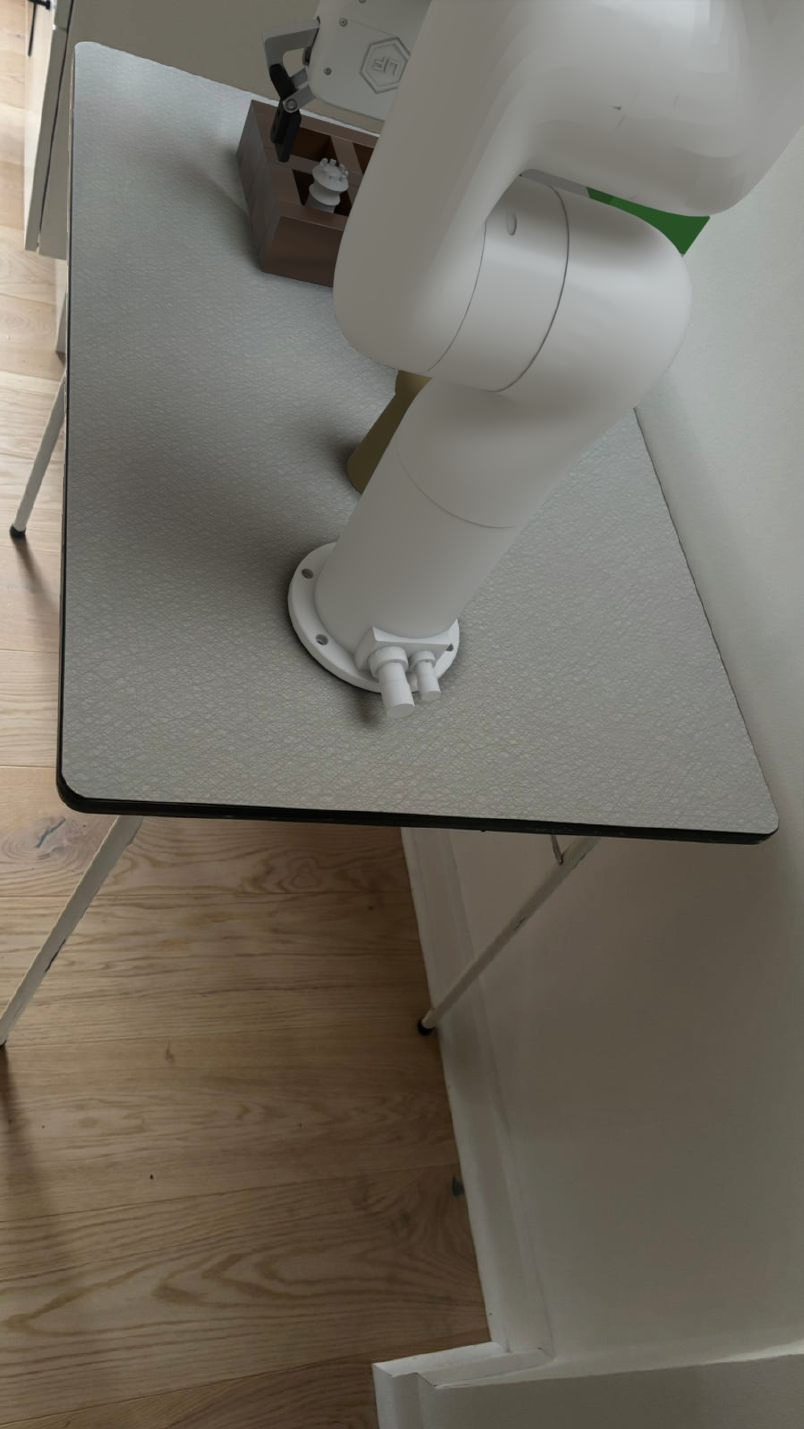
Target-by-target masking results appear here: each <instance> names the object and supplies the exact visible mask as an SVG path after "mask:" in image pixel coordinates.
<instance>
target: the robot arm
mask: <svg viewBox="0 0 804 1429" xmlns="http://www.w3.org/2000/svg"><path fill="white" fill-rule="evenodd" d="M261 41H262V46H263V53H264V58H265V63H266V69H267V72H268V75H269V79H270V82H271V83H272V85H273V87H274V90H275V91H276V93H277V95H278V97H279V101H278V105H277V111H276V114H275V117H274V121H273V124H272V127H271V132H270V139H271V142H272V143H274V146H275V149H276V153H277V157H278V160H279V161H280V162H283V163H286V161H287V162H288V161H289V158H290V155H291V152H292V148H293V145H294V142H295V139H296V136H297V133H298V130H299V127H300V124H301V120H302V117H301V114H302V113H301V111H300V110H301V108H303V107H305V106H306V105H308V104H309V103H311V102H312V101H314V100H315V99H317V100H318V101H320V102H321V103H324V104H325V105H326V106H327V105H328V106H331V107H334V108H336V109H339V110H343V111H345V112H349V113H352V114H355V115H358V116H361V117H363V118H364V117H365V118H368V119H371V120H374V121H377V122H380V123H383V125H382V128H381V131H380V133H379V136H378V137H379V138H378V141H377V143H376V146H375V148H374V151H373V154H372V156H371V159H370V161H369V164H368V166H367V169H366V172H365V174H364V177H363V179H362V182H361V185H360V187H359V190H358V193H357V195H356V198H355V201H354V204H353V206H352V209H351V212H350V215H349V217H348V220H347V223H346V227H345V230H344V233H343V237H342V240H341V243H340V248H339V253H338V257H337V262H336V267H335V273H334V284H333V287H332V296H333V298H332V299H333V309H334V314H335V318H336V319H335V320H336V322H337V326H338V328H339V329H340V331H341V334H342V335H343V337H344V339H345V340H346V341H347V342H348V343H349V344H350V346H351V347H352V348H353V349H354V350H355V351H357V352H358V353H359V354H361V356H363V357H364V358H366V359H369V360H371V361H372V362H375V363H378V364H380V365H383V366H386V367H390V368H392V369H395V370H398V371H399V370H402V371H406V372H410V373H414V374H418V375H423V376H427V377H431V378H432V379H431V380H430V381H429V382H428V383H427V384H426V385H425V386H424V387H423V388H422V390H421V391H420V392H419V393H418V395H417V396H416V397H415V399H414V400H413V402H412V403H411V405H410V407H409V408H408V410H407V412H406V413H405V415H404V417H403V419H402V421H401V423H400V425H399V427H398V428H397V430H396V432H395V434H394V435H393V437H392V439H391V441H390V443H389V445H388V447H387V449H386V450H385V452H384V454H383V456H382V458H381V460H380V462H379V464H378V466H377V468H376V469H375V471H374V473H373V475H372V477H371V479H370V481H369V483H368V485H367V486H366V488H365V490H364V492H363V494H361V496H360V497H359V500H358V501H357V504H356V506H355V507H354V508H353V511H352V513H351V515H350V516H349V519H348V520H347V522H346V525H345V526H344V528H343V530H342V531H341V534H340V536H339V537H338V540H337V541H333V542H329V543H327V544H322V545H321V546H319V547H317V548H315V549H314V550H311V551H310V553H308V554H307V555H306V556H305V557H304V558H302V560H301V561H300V563H299V564H298V566H297V567H296V569H295V572H294V574H293V577H292V579H291V581H290V584H289V588H288V593H287V605H288V613H289V616H290V621H291V624H292V627H293V628H294V631H295V633H296V634H297V636H298V638H299V640H300V642H301V643H302V644H303V646H304V647H305V648H306V649H307V651H308V652H309V653H310V655H311V656H312V657H313V658H314V659H315V660H316V661H317V662H318V663H319V664H320V665H322V667H324V669H326V670H328V671H329V672H330V673H332V674H333V675H335V676H336V677H338V678H339V679H340V680H342V681H345V682H346V683H349V684H351V685H353V686H355V687H357V688H360V689H363V690H367V691H370V692H373V693H380V694H381V698H382V703H383V707H384V711H385V715H386V717H387V718H389V719H393V720H398V719H399V720H400V719H404V718H406V717H408V716H410V715H412V714H413V713H414V712H415V710H416V705H415V701H414V698H413V693H414V692H418V693H419V698H420V700H421V701H422V702H426V703H429V702H434V701H436V700H438V699H439V698H441V696H442V690H441V687H440V684H439V679H441V678H442V677H443V676H444V674H445V673H446V672H447V670H448V669H449V668H450V667H451V665H452V663H453V662H454V660H455V658H456V657H457V654H458V649H459V646H460V626H459V621H458V618H459V617H460V616H461V614H462V613H463V612H464V610H465V609H466V608H467V606H468V605H469V604H470V602H471V601H472V599H473V598H474V597H475V596H476V594H477V593H478V591H479V590H480V589H481V587H482V586H483V584H484V583H485V582H486V581H487V579H488V578H489V577H490V575H491V574H492V572H493V571H494V570H495V568H496V567H497V566H498V564H499V563H500V562H501V560H502V559H503V558H504V556H505V555H506V554H507V552H509V550H510V548H511V547H512V546H513V544H514V543H515V541H516V540H518V538H519V536H520V534H521V533H522V532H523V531H524V529H525V528H526V526H527V525H528V524H529V523H530V522H531V520H532V518H533V517H534V516H535V515H536V514H537V513H538V511H539V510H540V508H541V507H542V506H543V505H544V504H545V502H546V501H547V500H548V498H549V496H550V495H551V494H552V493H553V491H554V490H555V489H556V488H557V486H558V485H559V484H560V482H561V481H562V480H563V478H564V477H565V476H566V475H567V474H568V472H569V471H570V470H571V469H572V467H574V465H575V464H576V463H577V462H578V460H579V459H580V458H581V457H582V456H583V455H584V454H585V453H586V452H587V451H588V450H589V449H591V447H593V445H594V444H595V443H596V442H597V441H598V440H599V439H600V438H602V436H604V434H606V433H607V432H608V431H609V430H610V429H612V428H613V427H614V426H615V425H617V423H619V421H621V420H622V419H623V418H624V417H626V416H627V415H628V414H629V413H630V412H631V411H632V410H634V409H635V407H637V406H638V405H639V404H640V403H641V402H643V400H644V399H645V398H646V397H647V396H648V395H649V394H650V393H651V392H652V391H653V389H654V388H656V386H657V385H658V384H659V383H660V381H661V380H662V379H663V377H664V376H665V375H666V373H667V372H668V371H669V369H670V368H671V367H672V365H673V363H674V361H675V359H676V358H677V355H678V353H679V352H680V350H681V349H682V348H681V347H682V345H683V343H684V341H685V338H686V336H687V332H688V329H689V325H690V320H691V315H692V308H693V288H692V282H691V278H690V273H689V270H688V268H687V265H686V262H685V261H684V258H682V257H681V255H680V253H679V252H678V250H677V249H676V247H675V246H674V245H673V244H672V242H671V241H670V240H669V239H668V238H667V237H666V236H665V235H664V234H663V233H661V232H660V231H659V230H658V229H656V228H655V227H653V226H652V225H650V224H649V223H647V222H645V221H644V220H642V219H640V218H639V217H637V216H634V215H632V214H630V213H628V212H625V211H623V210H621V209H619V208H616V207H613V206H611V205H608V204H605V203H602V202H599V201H596V200H593V199H590V198H587V197H584V196H581V195H578V194H575V193H572V192H569V191H566V190H563V189H560V188H557V187H554V186H551V185H548V184H545V183H539V182H536V181H533V180H530V179H527V178H524V177H521V176H519V175H520V174H521V173H522V172H524V171H526V170H528V169H534V170H539V171H542V172H545V173H548V174H551V175H554V176H557V177H560V178H564V179H566V180H569V181H572V182H575V183H578V184H581V185H584V186H587V187H589V188H592V189H595V190H598V191H601V192H604V193H607V194H610V195H612V196H615V197H618V198H621V199H624V200H627V201H630V202H633V203H637V204H640V205H643V206H646V207H650V208H653V209H657V210H661V211H664V212H668V213H674V214H679V215H685V216H713V215H714V216H715V215H717V214H721V213H723V212H726V211H727V210H730V209H731V208H733V207H735V206H736V205H737V204H738V203H739V202H741V201H742V200H743V199H744V198H746V197H747V196H748V195H749V194H750V193H751V191H752V190H753V189H755V187H756V186H757V185H758V184H759V183H760V182H761V181H762V180H763V179H764V177H765V176H766V175H767V173H768V172H769V171H770V169H771V168H772V167H773V166H774V164H775V163H776V162H777V160H778V159H779V158H780V157H781V156H782V154H783V153H784V151H785V150H786V149H787V147H788V146H789V144H790V143H791V142H792V140H793V139H794V138H795V136H796V135H797V133H798V132H799V131H800V129H801V128H802V127H803V125H804V0H320V1H319V3H318V6H317V7H316V11H315V14H314V17H313V19H310V20H309V19H308V20H304V21H299V22H294V23H288V24H285V25H284V24H283V25H279V26H273V27H269V28H265V29H264V30H263V31H262V33H261ZM300 49H302V55H301V62H302V65H300V66H298V67H297V68H295V69H294V70H292V71H291V72H289V73H288V71H287V69H286V67H285V66H284V55H285V53H288V52H291V51H296V50H300Z"/></svg>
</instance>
